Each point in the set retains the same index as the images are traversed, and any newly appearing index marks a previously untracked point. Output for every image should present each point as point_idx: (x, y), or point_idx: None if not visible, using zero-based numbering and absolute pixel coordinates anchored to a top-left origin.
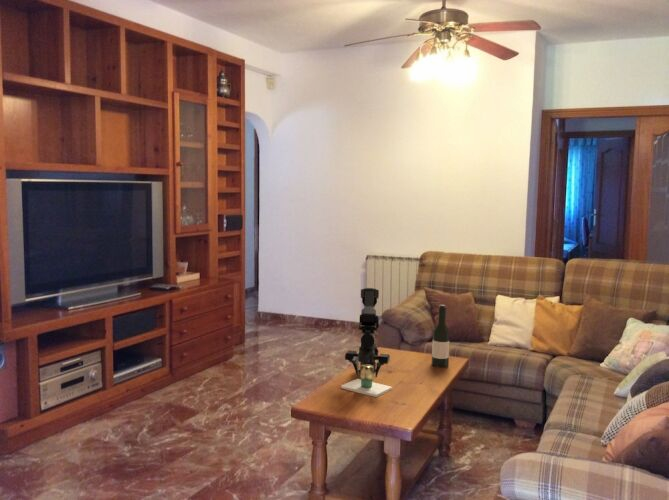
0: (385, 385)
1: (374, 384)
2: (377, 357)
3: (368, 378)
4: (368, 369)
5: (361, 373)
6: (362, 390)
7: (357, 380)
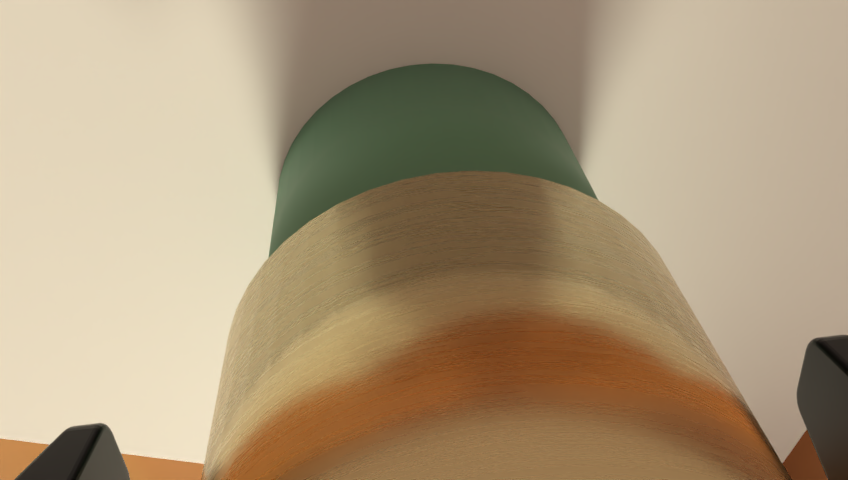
0: (34, 435)
1: None
2: None
3: (319, 237)
4: None
5: (704, 355)
6: None
7: None
